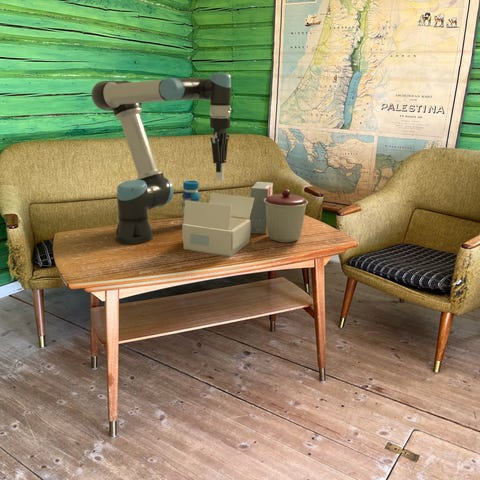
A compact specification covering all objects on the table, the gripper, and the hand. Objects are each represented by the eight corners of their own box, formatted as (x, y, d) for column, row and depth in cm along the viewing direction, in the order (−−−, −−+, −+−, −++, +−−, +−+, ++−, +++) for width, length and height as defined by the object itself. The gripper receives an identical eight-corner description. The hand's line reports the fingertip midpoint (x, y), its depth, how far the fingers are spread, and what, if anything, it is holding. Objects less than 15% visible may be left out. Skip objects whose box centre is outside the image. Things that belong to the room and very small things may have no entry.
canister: (273, 247, 192) (276, 195, 185) (255, 234, 208) (256, 186, 201) (313, 243, 198) (317, 192, 192) (293, 230, 214) (295, 183, 208)
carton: (181, 249, 189) (181, 224, 186) (203, 236, 204) (203, 213, 201) (232, 257, 181) (232, 231, 178) (250, 243, 196) (251, 219, 193)
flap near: (183, 223, 185) (183, 223, 184) (185, 200, 184) (185, 200, 183) (229, 230, 178) (228, 230, 177) (231, 205, 177) (231, 205, 176)
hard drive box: (266, 234, 208) (267, 189, 202) (248, 233, 210) (249, 188, 204) (271, 224, 223) (273, 182, 217) (255, 223, 224) (256, 181, 218)
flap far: (211, 192, 203) (212, 193, 204) (206, 212, 201) (206, 212, 201) (254, 197, 196) (254, 198, 197) (248, 218, 194) (249, 218, 194)
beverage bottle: (200, 228, 216) (200, 183, 210) (181, 228, 215) (180, 183, 209) (201, 222, 224) (200, 180, 218) (182, 222, 223) (181, 180, 217)
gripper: (222, 118, 172) (222, 184, 180) (235, 116, 184) (234, 178, 191) (203, 117, 175) (203, 182, 182) (217, 115, 186) (217, 176, 194)
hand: (219, 180), depth 187 cm, fingers closed
